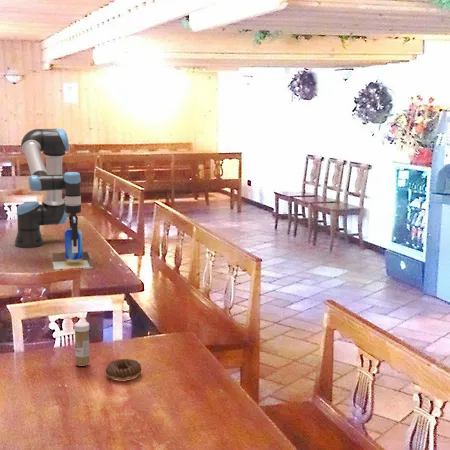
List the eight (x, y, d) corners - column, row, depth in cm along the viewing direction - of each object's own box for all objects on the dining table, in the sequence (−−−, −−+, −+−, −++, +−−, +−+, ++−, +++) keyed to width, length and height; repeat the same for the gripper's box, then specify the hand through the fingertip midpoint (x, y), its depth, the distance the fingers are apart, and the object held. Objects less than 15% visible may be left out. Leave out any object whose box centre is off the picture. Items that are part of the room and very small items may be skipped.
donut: (144, 369, 199) (144, 357, 198) (137, 384, 188) (137, 371, 187) (110, 367, 199) (110, 355, 198) (101, 382, 189) (101, 370, 188)
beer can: (62, 261, 312) (61, 229, 309) (69, 257, 320) (69, 226, 317) (78, 263, 310) (77, 230, 307) (85, 258, 318) (85, 227, 315)
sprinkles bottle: (72, 364, 200) (71, 323, 198) (84, 360, 204) (83, 320, 201) (81, 369, 197) (80, 327, 195) (93, 364, 201) (92, 323, 198)
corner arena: (52, 262, 320) (52, 253, 319) (89, 260, 326) (89, 251, 325) (54, 270, 306) (53, 260, 305) (92, 268, 312) (92, 258, 311)
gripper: (63, 201, 319) (64, 246, 323) (66, 208, 299) (68, 256, 303) (78, 200, 321) (79, 245, 325) (83, 207, 301) (84, 255, 306)
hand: (74, 250), depth 314 cm, fingers closed on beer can, 8 cm apart
